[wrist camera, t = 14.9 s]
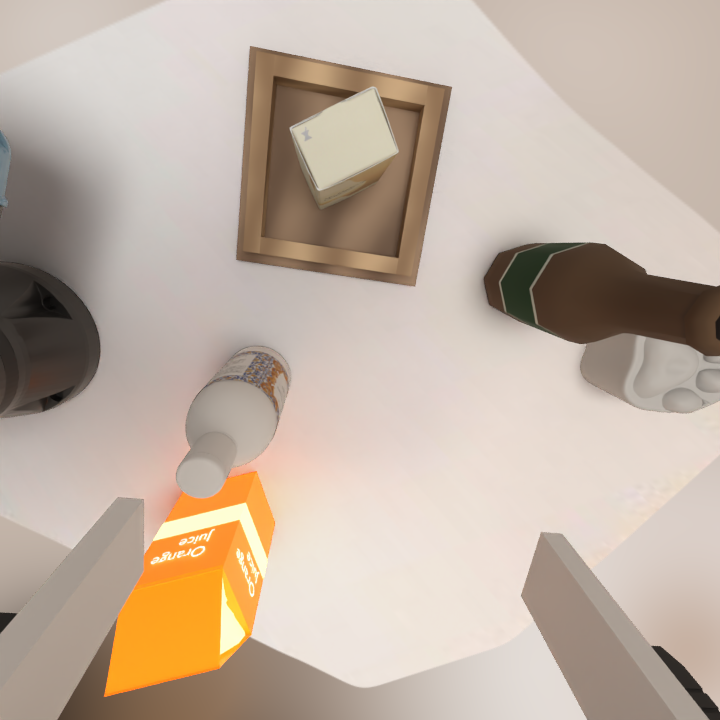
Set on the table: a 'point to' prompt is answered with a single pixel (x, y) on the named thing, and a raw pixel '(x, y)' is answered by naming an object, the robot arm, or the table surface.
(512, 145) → the table surface
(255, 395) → the bath foam
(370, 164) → the skincare box
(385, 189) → the wooden tray
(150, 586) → the orange juice
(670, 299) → the beer bottle
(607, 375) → the lumpy-topped squat cylinder
